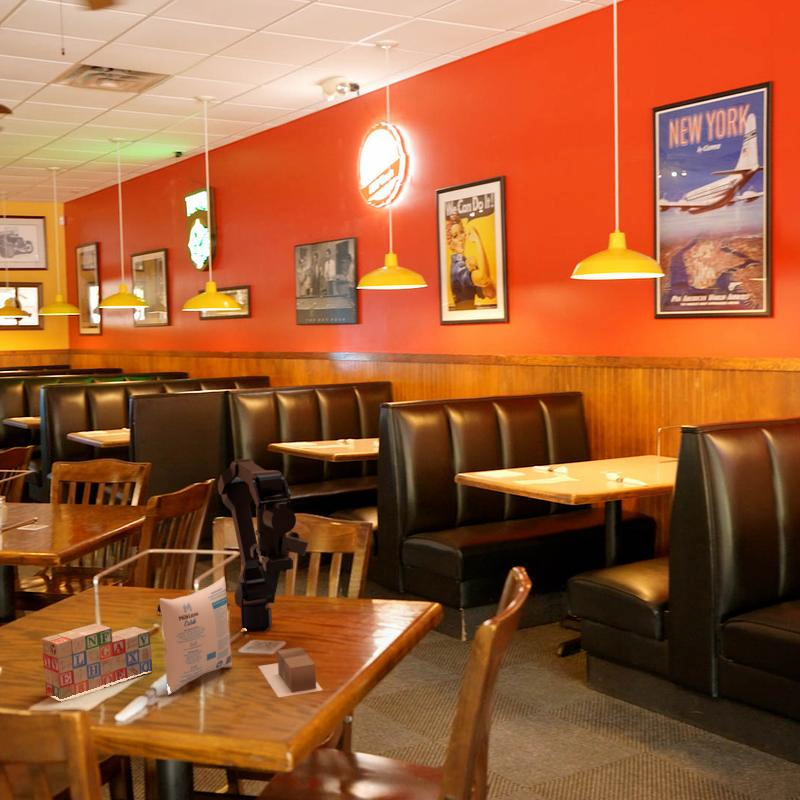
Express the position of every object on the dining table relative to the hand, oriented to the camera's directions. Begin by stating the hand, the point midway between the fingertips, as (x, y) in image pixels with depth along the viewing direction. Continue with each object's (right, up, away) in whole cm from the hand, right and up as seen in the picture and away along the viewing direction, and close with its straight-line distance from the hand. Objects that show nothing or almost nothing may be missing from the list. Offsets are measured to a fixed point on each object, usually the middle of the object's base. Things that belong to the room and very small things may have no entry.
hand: (273, 593), depth 230 cm
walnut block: (+6, -10, -19) cm, 23 cm away
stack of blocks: (-33, -15, -21) cm, 42 cm away
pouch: (-12, -14, -21) cm, 29 cm away
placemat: (+6, -13, -23) cm, 27 cm away
